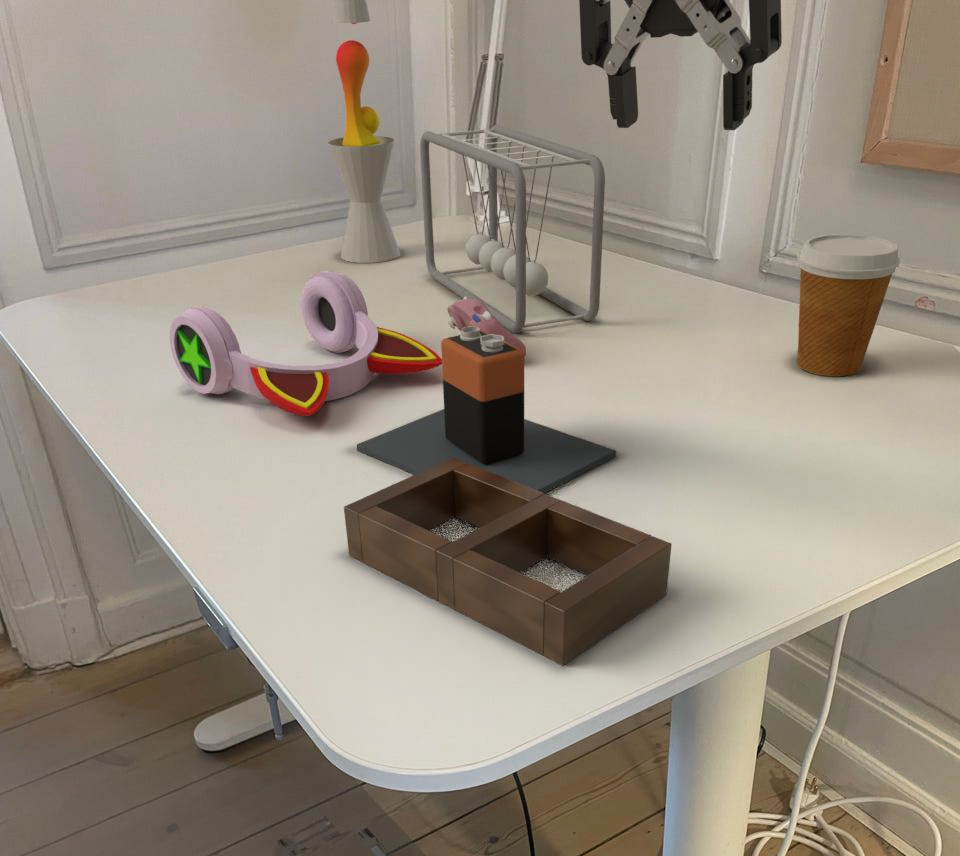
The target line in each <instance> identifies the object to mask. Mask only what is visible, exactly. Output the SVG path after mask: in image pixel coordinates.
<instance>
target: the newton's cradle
mask: <svg viewBox="0 0 960 856" xmlns="http://www.w3.org/2000/svg"><path fill="white" fill-rule="evenodd" d="M476 134H477V135H479V134H486V135H487V136H488V137H480V138H479V137H478V138H470V139H460V138H458V137H455V136H465V135H476ZM499 139H501V140H504V141H498V140H499ZM474 140H475V141H476V140H487V143H486V142H485V143H475V144H474V143H472V142H468V141H474ZM430 143H431V144H434V145H437V146H438V147H442V148H444V149H446V150H448V151H451V152H454V153H457V154H459V155H461V156H462V160H463V165H464V171H465V172H464V173H465V177H466V182H467V188H468V193H469V199H470V204H471V209H472V214H473V221H474V225H475V231H476V233H475V234H473V235H472V236H471V237H470V238H469V239H468V240H467V242H466V246H465V253H466V256H467V258H468V259H469V261H471V262H472V263H473V264H476V265H480V266H474V267H468V268H460V269H453V270H445V271H439V270H438V269H437V265H436V260H435V247H434V246H435V245H434V224H433V205H432V185H431V164H430V163H431V162H430ZM503 143H508V147H507V146H505V147H498V144H503ZM512 143H513V144H516V145H517V146H511V144H512ZM482 145H487V148H485V147H483V146H482ZM497 147H498V148H497ZM513 148H522V151H518V152H510V151H511V149H513ZM525 148H528V149H531V150H529V151H528V150H527V151H525ZM501 149H508V151H507V152H506V153H499V152H498V150H501ZM534 152H535V153H536V156H535V157H524V154H525V153H534ZM419 153H420V155H419V157H420V173H421V175H420V176H421V193H422V211H423V213H422V215H423V229H424V231H423V233H424V248H425V249H424V250H425V251H424V252H425V264H426V268H427V271H428V273H429V275H430V277H431V278H432V279H434V280H435V281H437V282H438V283H439V284H441V285H443V286H444V288H446V289H448V290H450V291H451V292H453V293H454V294H455V295H456V296H458V297H460V298H461V299H463V298H464V297H465V296H466V298H467V299H476V300H479V301H481V302H483V303H484V304H485V305H486V307H487V308H488V311H489V312H490V313H491V314H492V315H493V316H494V317H495V318H496V319H497V320H498V322H499V323H500V324H501V325H502V327H503V328H504V329H506V330H507V331H510V333H513V334H519V333H521V332H522V331H523V330H524V329H525V328H530V327H531V328H532V327H536V326H537V327H538V326H544V325H551V324H556V323H563V322H568V321H575V320H580V319H581V320H583V321H585V322H592V321H594V320H595V319H596V317H598V313H599V311H600V304H601V303H600V301H601V280H602V279H601V278H602V257H603V233H604V213H605V212H604V211H605V209H604V208H605V190H606V187H605V186H606V173H605V168H604V165H603V162H602V160H601V159H600V158H599V157H598V156H597V155H595V154H593V153H589V152H586V151H583V150H580V149H576V148H573V147H570V146H568V145H564V144H561V143H558V142H554V141H550V140H547V139H544V138H542V137H538V136H535V135H531V134H529V133H525V132H522V131H519V130H515V129H512V128H509V127H506V126H503V125H500V124H495V125H493V126H492V127H491V128H485V129H474V130H464V131H453V132H442V133H435V132H432V131H430V130H427V131H424V132H423V133H422V135H421V138H420V143H419ZM539 153H543V154H545V155H544V156H543V155H542V156H539ZM515 154H521V158H512V157H510V155H515ZM465 157H467V158H469V159H472V160H474V164H475V169H476V173H477V179H478V185H479V190H480V195H481V201H482V206H483V211H484V212H483V213H484V217H483V224H482V231H479V230H478V225H477V219H476V214H475V210H474V209H475V208H474V203H473V198H472V193H471V187H470V182H469V176H468V170H467V165H466V160H465ZM551 157H552V158H551ZM540 158H551V162H545V163H538V159H540ZM554 158H556V159H557V158H558V159H560V160H563V161H554ZM530 159H532V160H533V159H536V160H535V164H528V163H526V162H524V161H523V160H530ZM477 162H479V163H482V164H483V165H484V164H485V165H487V170H488V171H487V174H488V176H487V177H488V193H487V199H486V206H485V200H484V195H483V190H482V189H483V188H482V184H481V179H480V173H479V168H478V163H477ZM582 164H584V165H587V166H589V167H591V169H592V171H593V176H594V177H593V178H594V180H593V181H594V183H593V207H592V209H593V210H592V235H591V240H592V241H591V260H590V261H591V262H590V285H589V287H590V288H589V306H588V310H587V309H585V307H582V306H580V305H578V304H577V303H575V302H573V301H572V300H570V299H568V298H566V297H564V296H563V295H561V294H559V293H557V292H556V291H553V290H552V289H550V288H548V287H547V286H548V284H549V273H548V270H547V268H546V267H545V265H543V264H542V263H540V262H537V257H538V252H539V245H540V240H541V236H542V235H541V234H542V228H543V222H544V217H545V211H546V205H547V199H548V192H549V186H550V182H551V181H550V180H551V175H552V169H553V168H554V167H563V166H573V165H582ZM544 168H549V174H548V180H547V187H546V192H545V198H544V203H543V210H542V215H541V222H540V227H539V233H538V239H537V246H536V251H535V257H534V259H531V257H530V251H529V250H530V249H529V245H528V244H529V243H528V237H527V227H528V220H529V215H530V209H531V202H532V195H533V191H534V190H533V189H534V183H535V177H536V171H537V169H544ZM498 170H499V171H500V174H501V179H502V192H501V198H500V204H499V210H498ZM525 170H534V171H533V176H532V177H533V178H532V183H531V188H530V194H529V201H528V207H527V182H526V178H525V174H524V172H523V171H525ZM503 172H504V173H503ZM507 174H510V175H512V177H513V181H514V189H515V192H514V193H515V198H514V204H513V211H512V217H511V213H510V207H509V200H508V195H507V191H506V178H507ZM504 196H505V203H506V208H507V214H508V220H509V225H510V230H509V235H508V243H507V245H505V244H504V242H503V235H502V230H501V225H500V219H501V212H502V206H503V200H504V199H503V197H504ZM487 211H488V216H487ZM498 211H499V212H498ZM514 219H515V236H514V231H513V230H514V229H513V224H514ZM485 224H486V228H487V232H488V235H487V234H485V233H484V232H485ZM511 236H512V237H511ZM499 237H500V241H499ZM511 238H512V243H513V248H514V249H513V248H511V247H510V243H511ZM482 270H485V271H486V272H489V273H493V274H494V276H496V278H498V279H500V280H504V281H506V282H507V283H508V284H509V285H510V286H512V287H514V288H515V321H514V320H513V319H511V318H510V317H509V316H507V315H505V314H504V313H502V312H501V311H500V310H498V309H497V308H495V307H493V306H492V305H490V304H489V303H487V302H486V301H484V300H483V299H481V298H480V297H479V296H477V295H475V294H474V293H472V292H471V291H469V290H468V289H466V288H465V287H463V286H462V285H460V284H459V283H457V282H456V281H454V280H453V279H451V278H450V277H448V276H446V275H451V274H459V273H466V272H473V271H482ZM537 295H540V296H542V297H543V298H545V299H547V300H549V301H550V302H552V303H554V304H555V305H557V306H559V307H560V308H562V309H563V310H566V311H567V312H568V313H570V314H572V315H573V316H567V317H566V316H565V317H561V318H553V319H548V320H540V321H535V322H529V323H526V319H527V318H526V316H527V296H537Z"/></svg>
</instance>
